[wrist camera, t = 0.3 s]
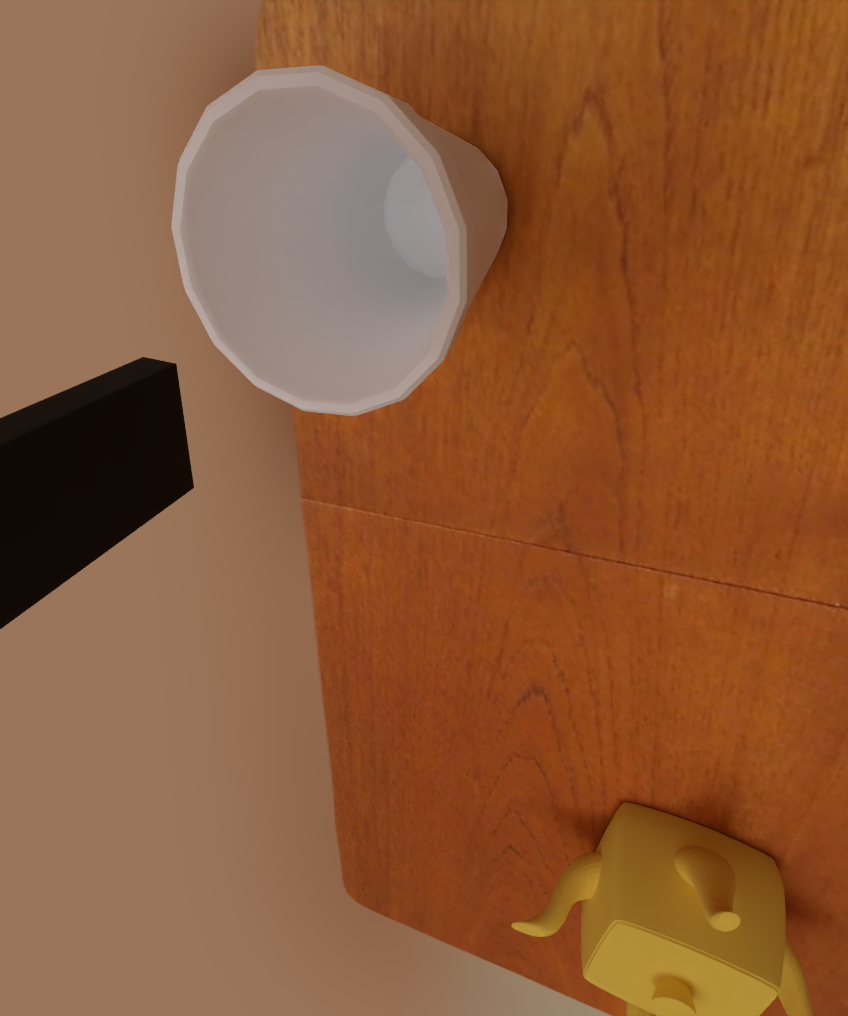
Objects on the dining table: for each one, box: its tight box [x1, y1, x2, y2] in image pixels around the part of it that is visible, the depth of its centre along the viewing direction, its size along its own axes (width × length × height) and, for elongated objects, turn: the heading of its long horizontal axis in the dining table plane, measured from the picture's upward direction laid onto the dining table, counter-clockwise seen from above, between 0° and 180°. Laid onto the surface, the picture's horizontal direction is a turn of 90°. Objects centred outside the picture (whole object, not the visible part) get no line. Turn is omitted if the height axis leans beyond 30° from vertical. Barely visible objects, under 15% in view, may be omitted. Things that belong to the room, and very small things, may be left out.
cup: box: [171, 65, 508, 416], centre depth 25 cm, size 10×10×13 cm
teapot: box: [511, 802, 815, 1016], centre depth 42 cm, size 15×14×10 cm
